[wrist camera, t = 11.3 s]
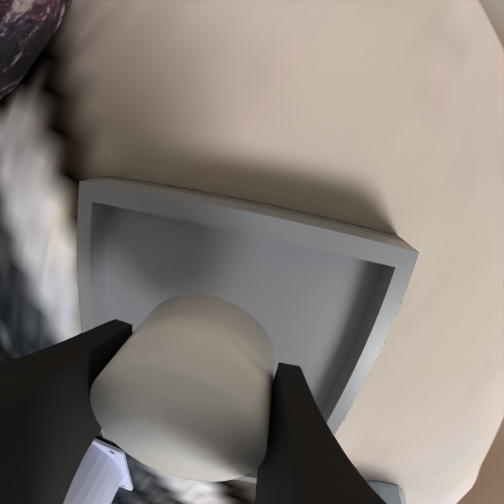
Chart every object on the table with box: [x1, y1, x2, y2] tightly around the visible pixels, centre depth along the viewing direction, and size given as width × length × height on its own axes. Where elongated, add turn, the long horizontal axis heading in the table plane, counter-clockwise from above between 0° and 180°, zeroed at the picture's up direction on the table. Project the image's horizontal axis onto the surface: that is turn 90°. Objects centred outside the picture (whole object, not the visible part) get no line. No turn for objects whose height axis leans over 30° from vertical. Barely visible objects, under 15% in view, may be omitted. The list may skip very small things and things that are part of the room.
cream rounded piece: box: [90, 294, 275, 482], centre depth 8 cm, size 4×4×3 cm
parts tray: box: [77, 176, 419, 483], centre depth 13 cm, size 12×15×2 cm
